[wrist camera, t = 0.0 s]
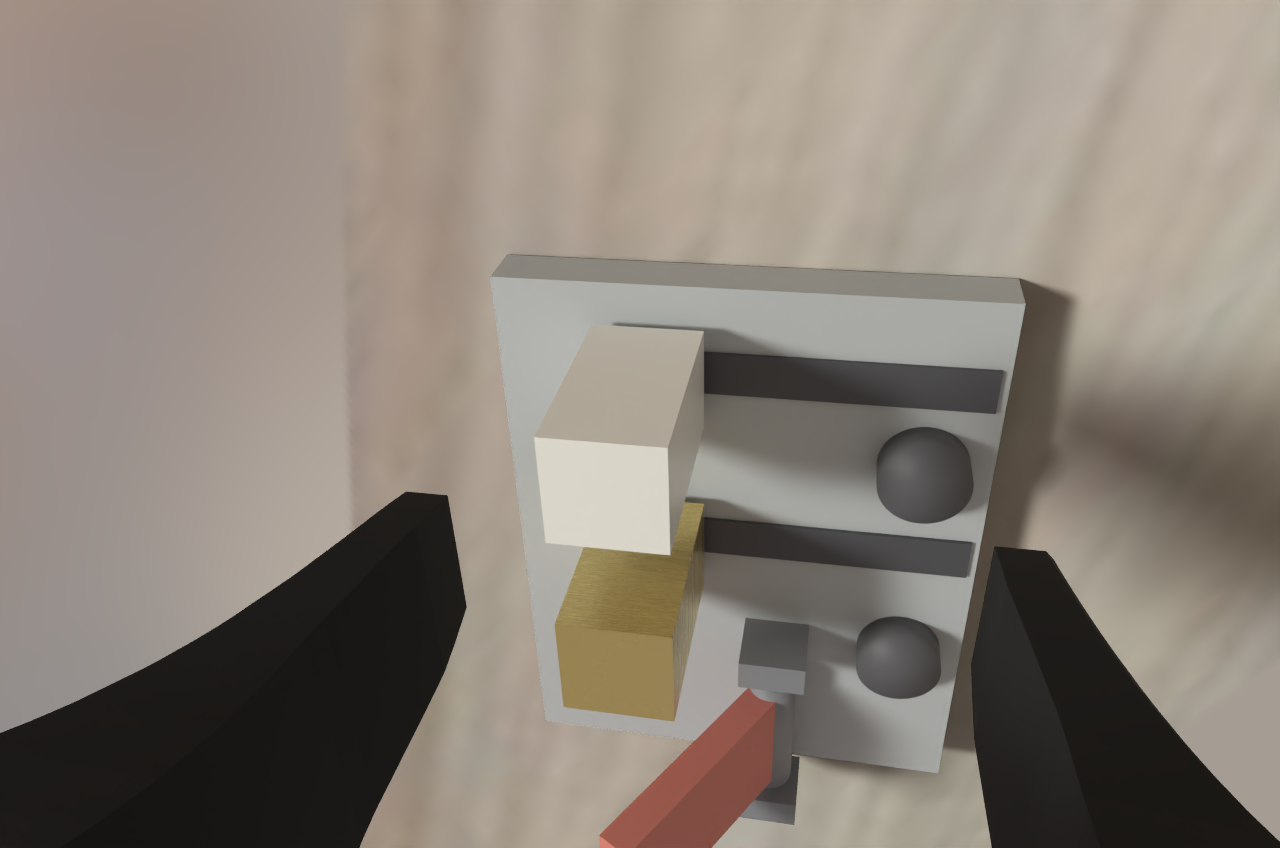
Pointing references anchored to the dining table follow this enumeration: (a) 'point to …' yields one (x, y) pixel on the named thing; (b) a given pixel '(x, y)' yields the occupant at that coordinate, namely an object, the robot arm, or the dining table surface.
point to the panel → (795, 484)
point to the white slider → (622, 439)
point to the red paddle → (713, 777)
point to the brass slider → (632, 625)
